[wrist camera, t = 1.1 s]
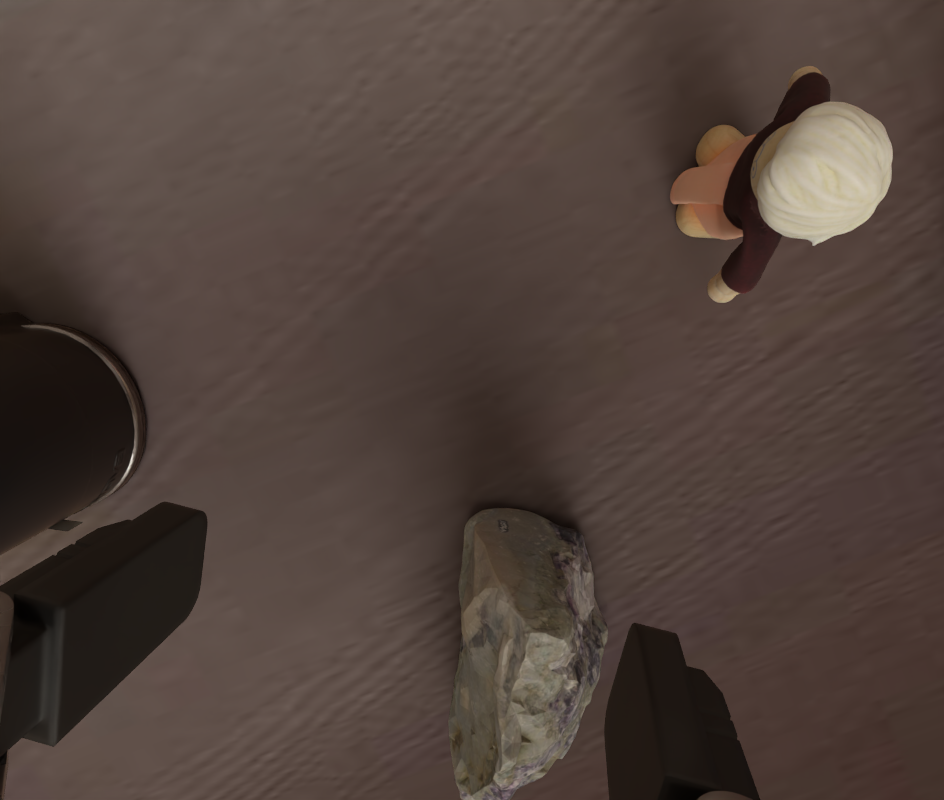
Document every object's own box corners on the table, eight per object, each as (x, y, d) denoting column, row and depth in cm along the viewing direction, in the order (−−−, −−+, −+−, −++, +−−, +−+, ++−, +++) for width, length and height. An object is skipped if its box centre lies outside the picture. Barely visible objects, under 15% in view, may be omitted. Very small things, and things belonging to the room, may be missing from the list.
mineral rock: (508, 766, 35) (491, 966, 26) (350, 643, 35) (272, 799, 25) (679, 606, 32) (734, 765, 22) (508, 467, 31) (488, 567, 22)
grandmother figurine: (683, 95, 27) (790, -27, 15) (780, 103, 27) (974, -15, 14) (651, 286, 29) (723, 320, 16) (742, 296, 28) (884, 338, 16)
